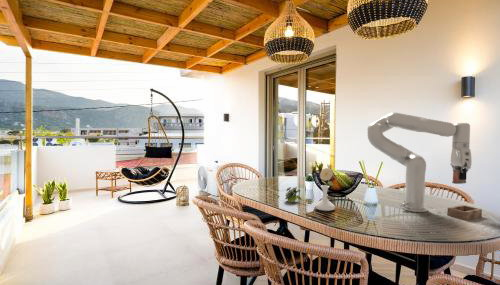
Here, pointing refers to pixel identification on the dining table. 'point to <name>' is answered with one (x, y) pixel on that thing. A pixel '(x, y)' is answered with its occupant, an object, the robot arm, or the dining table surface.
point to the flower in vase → (325, 191)
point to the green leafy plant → (292, 194)
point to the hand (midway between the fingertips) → (459, 178)
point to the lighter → (457, 176)
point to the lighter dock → (464, 212)
